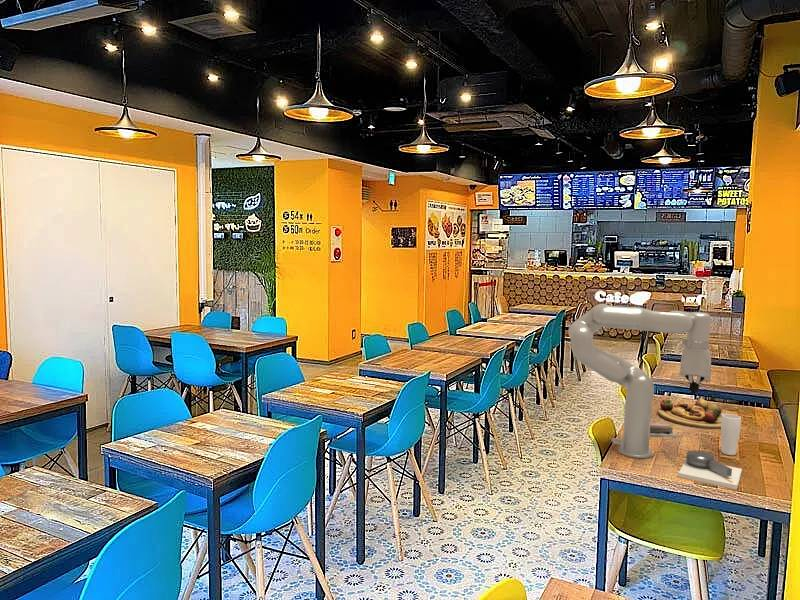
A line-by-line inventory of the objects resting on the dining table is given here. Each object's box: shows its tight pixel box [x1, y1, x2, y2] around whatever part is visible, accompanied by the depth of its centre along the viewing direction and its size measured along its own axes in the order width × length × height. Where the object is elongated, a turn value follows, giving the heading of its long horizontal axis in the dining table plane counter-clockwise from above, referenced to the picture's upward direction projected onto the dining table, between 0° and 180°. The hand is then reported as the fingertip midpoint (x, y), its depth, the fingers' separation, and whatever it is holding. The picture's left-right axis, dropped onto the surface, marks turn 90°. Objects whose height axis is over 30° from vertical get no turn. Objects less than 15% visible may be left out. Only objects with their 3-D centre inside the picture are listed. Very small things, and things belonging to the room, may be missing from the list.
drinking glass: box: [720, 413, 742, 456], centre depth 235 cm, size 7×7×15 cm
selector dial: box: [685, 450, 732, 477], centre depth 214 cm, size 18×9×3 cm, turn 17°
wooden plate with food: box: [657, 397, 724, 430], centre depth 282 cm, size 32×32×8 cm
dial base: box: [677, 459, 743, 490], centre depth 213 cm, size 18×18×2 cm
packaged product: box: [649, 422, 678, 439], centre depth 258 cm, size 18×5×10 cm
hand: (693, 392), depth 228 cm, fingers closed
